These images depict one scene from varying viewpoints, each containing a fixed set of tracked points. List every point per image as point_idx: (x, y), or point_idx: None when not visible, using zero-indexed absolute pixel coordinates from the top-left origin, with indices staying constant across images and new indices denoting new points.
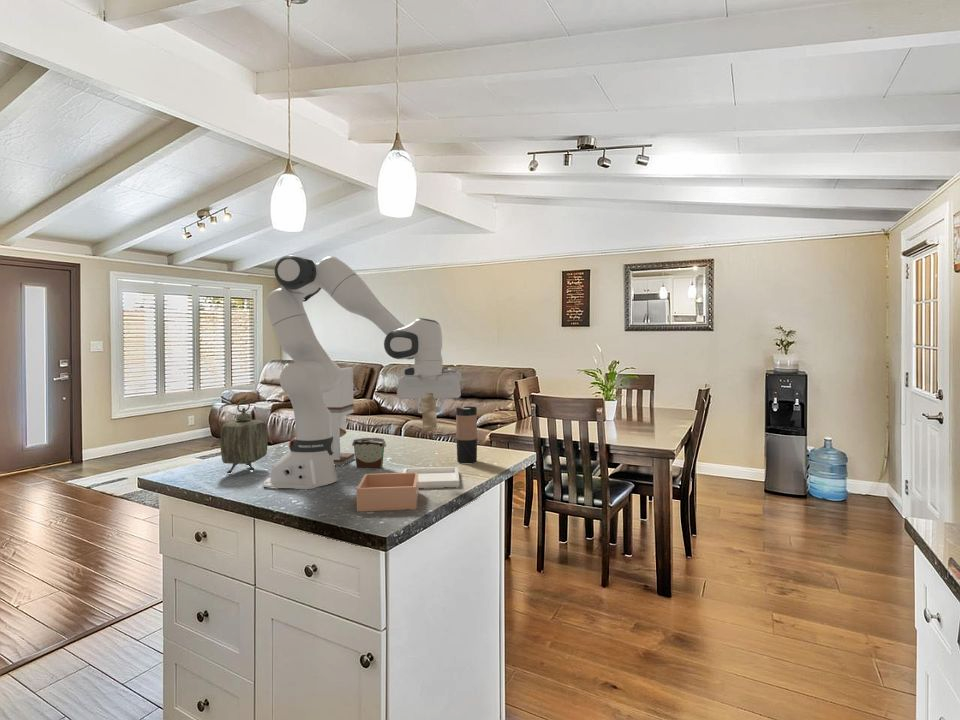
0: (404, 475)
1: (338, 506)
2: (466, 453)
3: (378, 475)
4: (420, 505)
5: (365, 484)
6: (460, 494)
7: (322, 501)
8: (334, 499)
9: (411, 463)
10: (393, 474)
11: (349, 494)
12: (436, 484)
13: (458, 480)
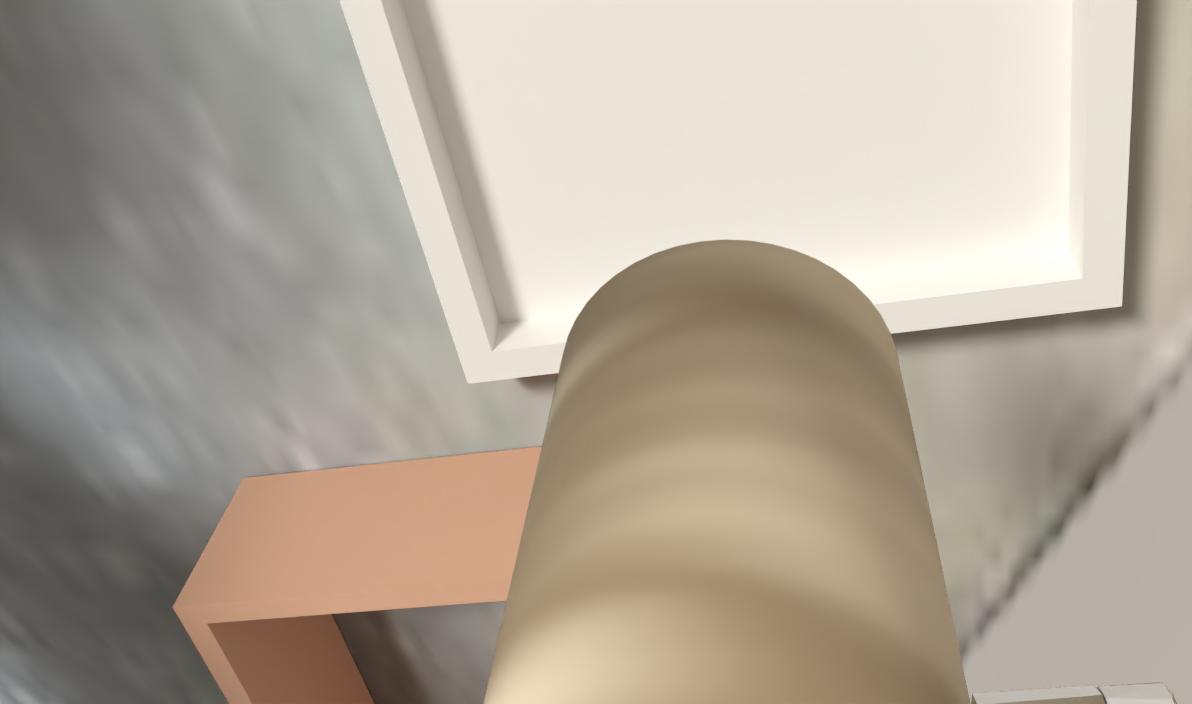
0: None
1: (215, 690)
2: None
3: (308, 608)
4: None
5: (273, 661)
6: (1094, 468)
7: (41, 612)
8: (91, 578)
9: None
10: (443, 602)
11: (119, 478)
12: None
13: (1111, 303)
